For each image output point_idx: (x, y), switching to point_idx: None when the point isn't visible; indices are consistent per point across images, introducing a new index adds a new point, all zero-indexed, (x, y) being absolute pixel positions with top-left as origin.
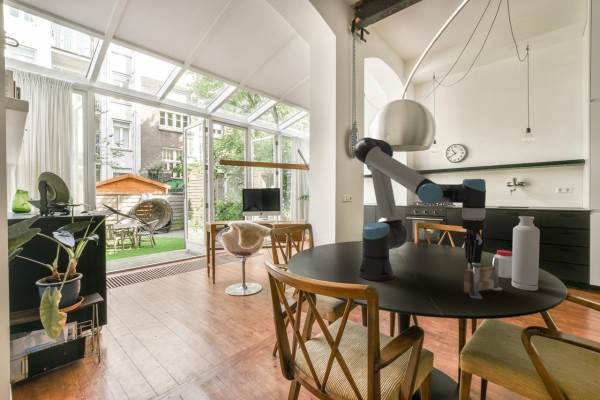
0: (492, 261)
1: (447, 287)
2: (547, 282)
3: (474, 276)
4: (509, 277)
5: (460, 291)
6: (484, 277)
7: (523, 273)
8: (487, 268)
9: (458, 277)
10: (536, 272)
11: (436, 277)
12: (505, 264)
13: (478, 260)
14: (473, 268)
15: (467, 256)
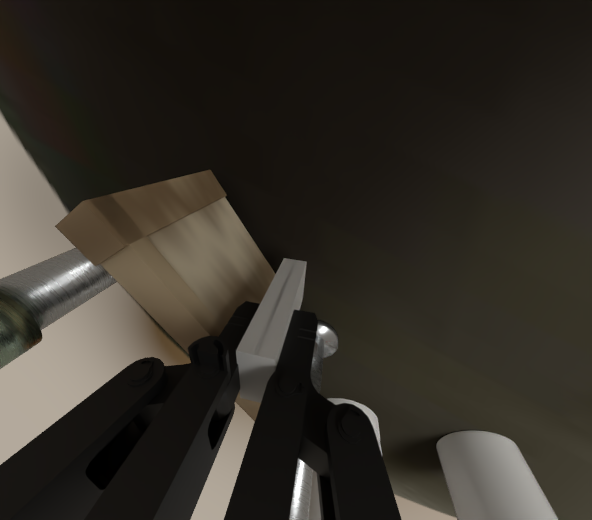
0: (297, 488)
1: (318, 111)
2: None
3: None
4: (438, 444)
5: (256, 169)
6: None
7: None
8: (239, 397)
9: (511, 283)
10: None
11: (578, 113)
12: (471, 513)
13: (132, 420)
14: (21, 272)
15: (291, 441)
